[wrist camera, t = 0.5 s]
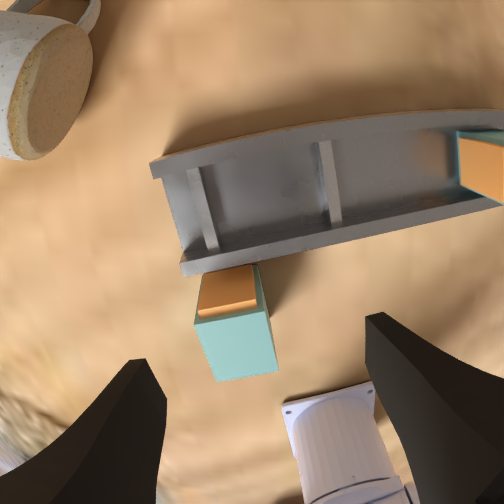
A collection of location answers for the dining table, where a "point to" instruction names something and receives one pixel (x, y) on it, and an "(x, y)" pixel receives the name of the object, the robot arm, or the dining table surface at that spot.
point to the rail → (318, 184)
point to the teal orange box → (482, 162)
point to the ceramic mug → (41, 77)
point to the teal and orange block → (235, 324)
